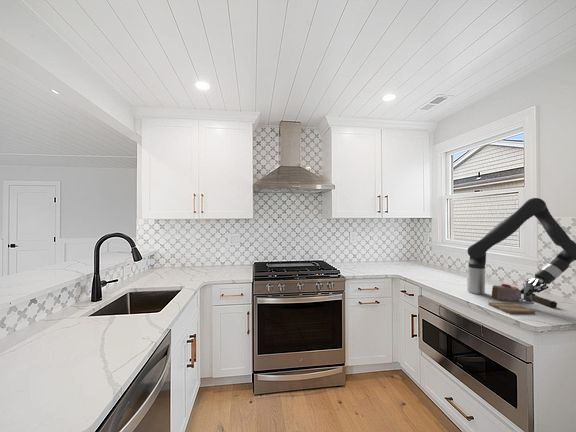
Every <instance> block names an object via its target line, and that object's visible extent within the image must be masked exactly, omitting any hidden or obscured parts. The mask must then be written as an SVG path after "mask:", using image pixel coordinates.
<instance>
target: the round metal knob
mask: <svg viewBox="0 0 576 432" xmlns="http://www.w3.org/2000/svg"><path fill="white" fill-rule="evenodd" d="M523 283H524V286H523V288H524V294H523V298H522V299H521V300H520V302H521V303H524V304H528V305H529V304H530V305H535V301H532V294H531V295H530V296H526V295H525V292H527V291H528V290H529V289H531V287H532V283H528V282H525V281H524V282H523Z"/></svg>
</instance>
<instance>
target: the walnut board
mask: <svg viewBox="0 0 576 432" xmlns="http://www.w3.org/2000/svg"><path fill="white" fill-rule="evenodd" d="M488 306H490V307H491V308H492V307H493V308H495V309H497V310H498V311H499V310H500V311H502V312H504V313H506V314H508V313H509V315H536V310H533V309H531V308H527V307H524V306H523V305H519V304H516V303H514V302H494V301H493V302H490V301H489V302H488Z"/></svg>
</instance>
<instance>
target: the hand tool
mask: <svg viewBox="0 0 576 432" xmlns="http://www.w3.org/2000/svg"><path fill="white" fill-rule="evenodd" d="M532 301H534V302H537V303H540V304H542V305H545V306H547V307H549V308H550V309H551V308H552V309H555V308H557V306H558V302H556V301H555V300H550V299H547V298H544V297H540V296H538V295H536V294H535V293H532Z"/></svg>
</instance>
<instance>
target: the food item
mask: <svg viewBox="0 0 576 432" xmlns="http://www.w3.org/2000/svg"><path fill="white" fill-rule="evenodd" d="M491 288H492V289H491V298H493V299H494V300H497V301H507V302H512V301H513V302H514V301H515V302H516V301H517V302H518V301H521V299H523V298H522V295H523V294H521V293H520V290H521V289H519V287H517V286H514V285H513V286H511V285H510V284H507V283H502V284H501V285H493V286H492V287H491Z"/></svg>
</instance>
